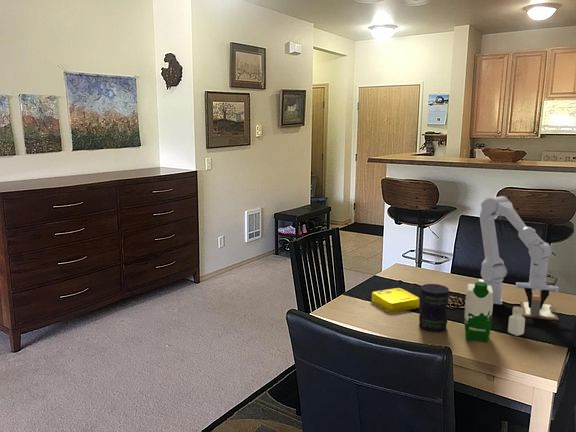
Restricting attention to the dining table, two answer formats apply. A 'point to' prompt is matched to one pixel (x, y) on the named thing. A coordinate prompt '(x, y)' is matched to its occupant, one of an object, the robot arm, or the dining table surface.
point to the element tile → (395, 300)
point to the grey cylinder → (535, 305)
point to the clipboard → (545, 312)
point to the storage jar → (433, 308)
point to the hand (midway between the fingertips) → (534, 307)
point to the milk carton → (478, 311)
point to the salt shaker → (516, 322)
